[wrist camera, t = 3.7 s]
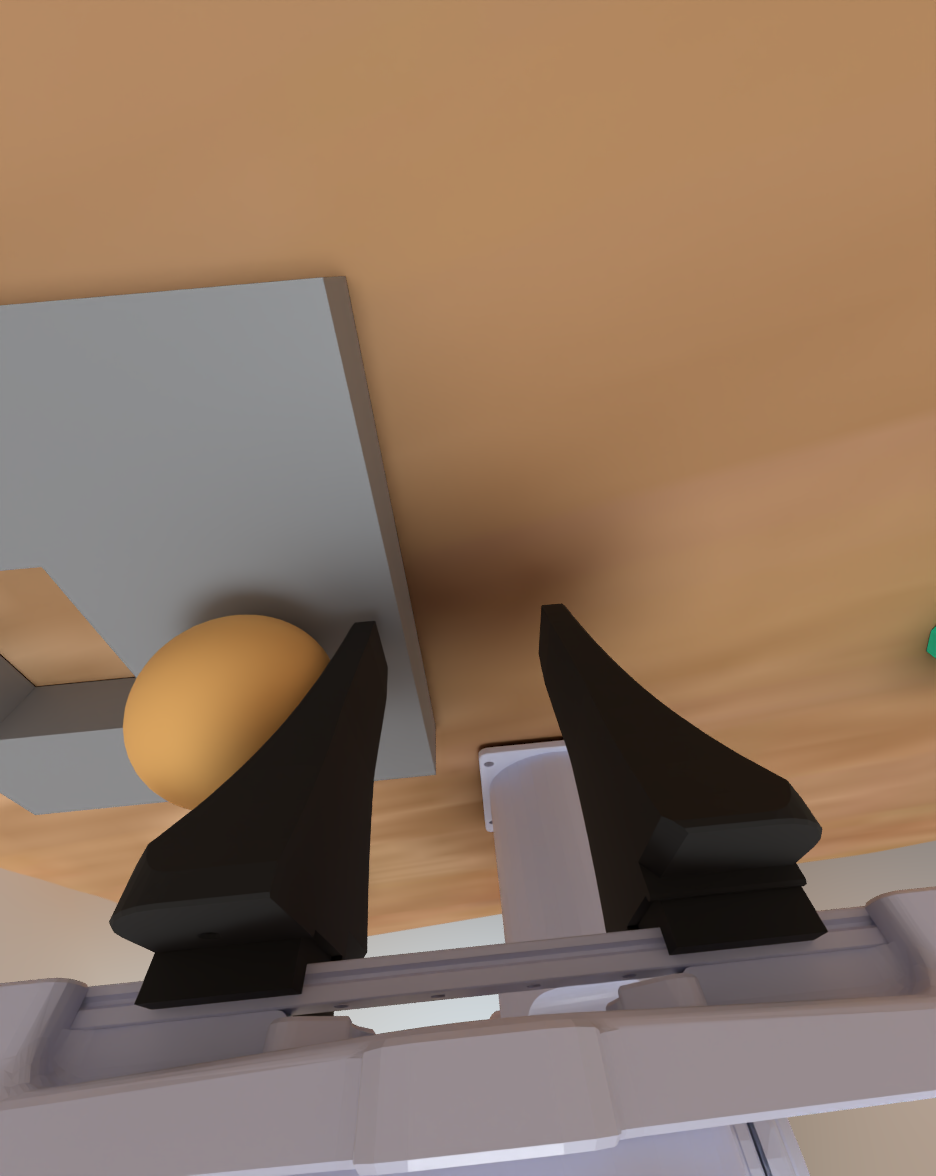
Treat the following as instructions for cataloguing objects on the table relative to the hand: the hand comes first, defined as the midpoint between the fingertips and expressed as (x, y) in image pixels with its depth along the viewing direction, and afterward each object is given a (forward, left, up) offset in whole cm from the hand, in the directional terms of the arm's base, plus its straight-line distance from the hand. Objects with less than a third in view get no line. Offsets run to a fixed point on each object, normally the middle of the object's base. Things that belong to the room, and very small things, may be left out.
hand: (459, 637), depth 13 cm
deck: (0, +11, -3) cm, 11 cm away
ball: (0, +6, +2) cm, 6 cm away
